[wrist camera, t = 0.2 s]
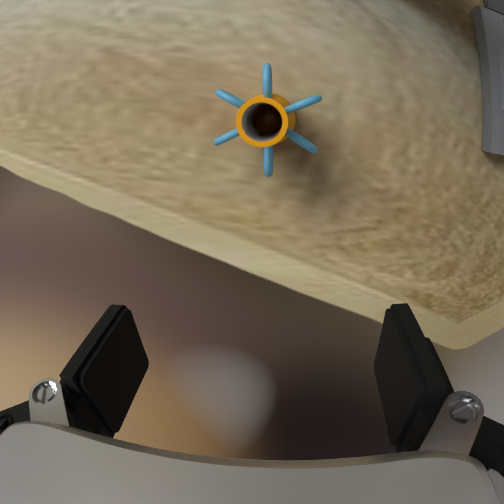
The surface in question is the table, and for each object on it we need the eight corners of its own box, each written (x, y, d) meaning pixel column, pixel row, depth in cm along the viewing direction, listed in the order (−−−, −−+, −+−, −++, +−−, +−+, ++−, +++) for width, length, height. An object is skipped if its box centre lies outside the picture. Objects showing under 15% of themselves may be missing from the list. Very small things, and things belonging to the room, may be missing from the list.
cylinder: (334, 111, 35) (365, 112, 21) (289, 177, 39) (292, 216, 25) (249, 59, 33) (229, 30, 19) (207, 128, 37) (164, 140, 24)
